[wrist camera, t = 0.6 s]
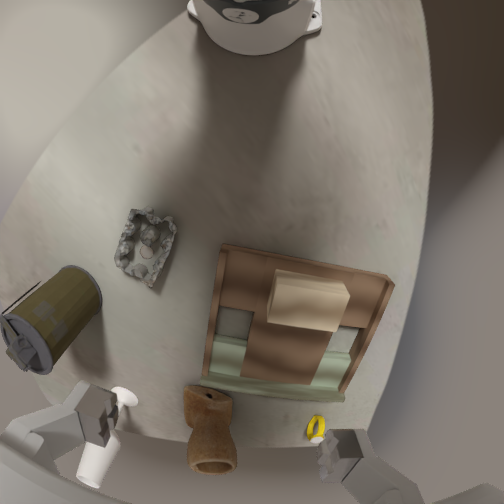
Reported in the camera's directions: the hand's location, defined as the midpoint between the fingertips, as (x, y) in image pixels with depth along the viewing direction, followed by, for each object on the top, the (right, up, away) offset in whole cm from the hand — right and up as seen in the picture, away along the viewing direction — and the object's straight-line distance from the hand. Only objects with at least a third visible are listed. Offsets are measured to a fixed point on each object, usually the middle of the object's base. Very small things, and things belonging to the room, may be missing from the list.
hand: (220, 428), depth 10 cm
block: (+9, 0, +33) cm, 35 cm away
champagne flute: (-27, -26, +47) cm, 60 cm away
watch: (+15, -30, +47) cm, 58 cm away
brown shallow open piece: (+8, -6, +38) cm, 39 cm away
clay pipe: (-7, -26, +46) cm, 53 cm away
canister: (-30, 0, +37) cm, 48 cm away
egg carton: (-14, +8, +34) cm, 38 cm away
